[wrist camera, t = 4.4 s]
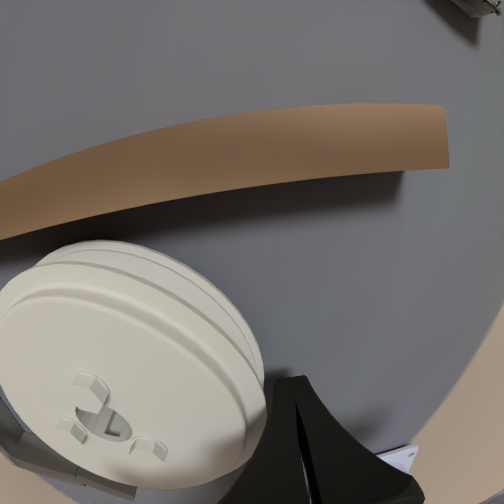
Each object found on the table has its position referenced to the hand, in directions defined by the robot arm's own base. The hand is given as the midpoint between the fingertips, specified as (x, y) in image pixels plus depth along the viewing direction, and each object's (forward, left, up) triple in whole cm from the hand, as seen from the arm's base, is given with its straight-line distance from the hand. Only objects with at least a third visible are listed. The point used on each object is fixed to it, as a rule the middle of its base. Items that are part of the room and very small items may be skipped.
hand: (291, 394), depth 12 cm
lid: (+1, +7, -2) cm, 8 cm away
